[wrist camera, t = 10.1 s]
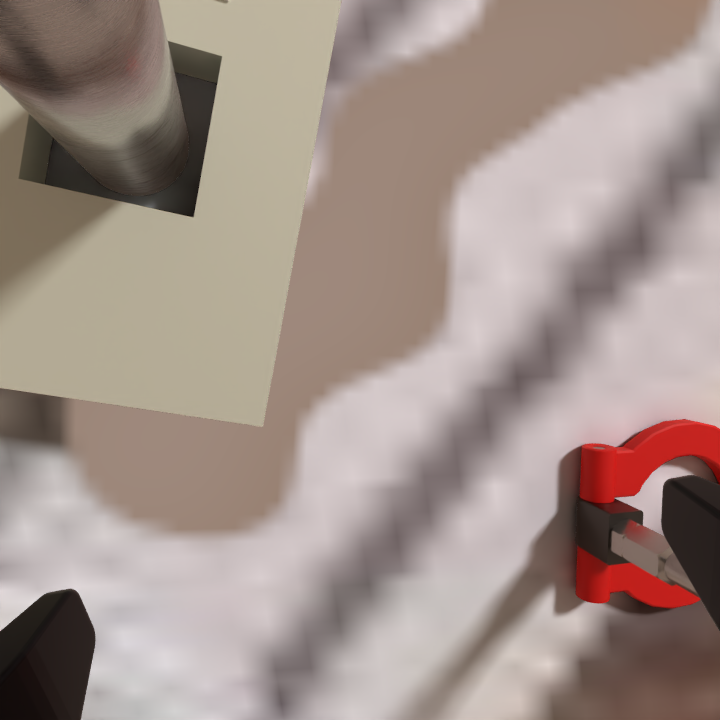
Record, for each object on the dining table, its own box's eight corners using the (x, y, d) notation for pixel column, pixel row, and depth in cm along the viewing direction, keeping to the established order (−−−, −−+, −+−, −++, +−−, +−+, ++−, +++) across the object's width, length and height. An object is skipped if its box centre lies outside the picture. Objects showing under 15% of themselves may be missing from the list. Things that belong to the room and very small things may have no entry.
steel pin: (72, 188, 21) (-225, -46, 7) (78, 76, 21) (-217, -388, 7) (185, 202, 22) (114, 17, 8) (193, 95, 21) (132, -285, 8)
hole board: (259, 414, 23) (263, 427, 20) (-98, 360, 20) (-145, 367, 18) (346, -63, 22) (362, -112, 20) (-12, -187, 19) (-47, -263, 17)
